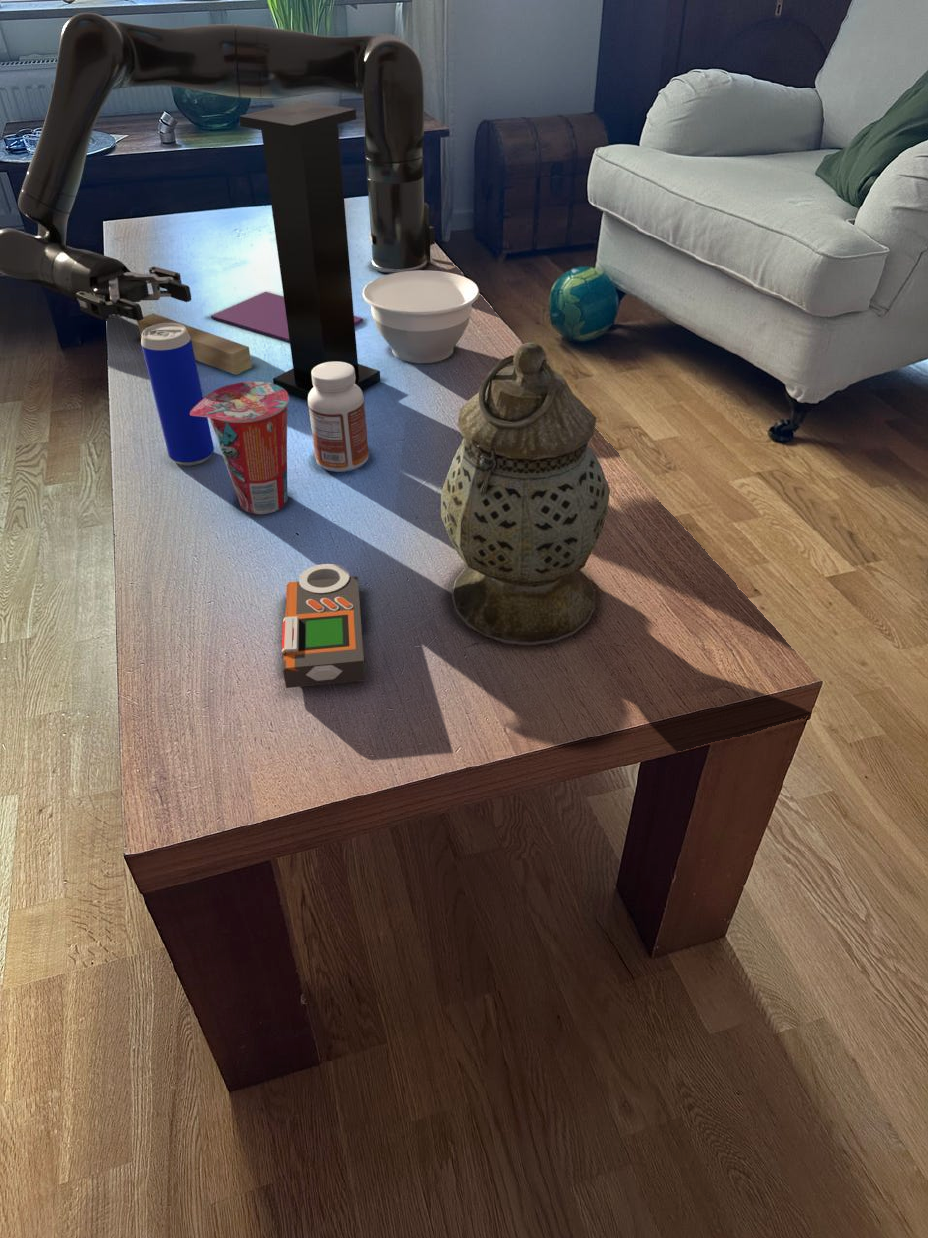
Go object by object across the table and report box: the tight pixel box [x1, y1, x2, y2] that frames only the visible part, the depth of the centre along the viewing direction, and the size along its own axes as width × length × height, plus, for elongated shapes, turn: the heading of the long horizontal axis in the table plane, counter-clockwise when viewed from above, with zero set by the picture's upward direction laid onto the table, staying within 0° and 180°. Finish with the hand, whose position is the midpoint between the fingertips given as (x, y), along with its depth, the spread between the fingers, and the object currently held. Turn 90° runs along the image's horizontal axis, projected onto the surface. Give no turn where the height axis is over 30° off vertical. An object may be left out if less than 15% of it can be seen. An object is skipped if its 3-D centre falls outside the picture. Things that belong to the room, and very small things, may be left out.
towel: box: [210, 291, 364, 343], centre depth 134 cm, size 12×20×1 cm, turn 56°
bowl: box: [362, 269, 480, 364], centre depth 123 cm, size 16×16×8 cm
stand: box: [238, 100, 381, 402], centre depth 107 cm, size 10×10×32 cm
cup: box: [190, 381, 290, 515], centre depth 92 cm, size 9×8×12 cm
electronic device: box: [281, 563, 367, 689], centre depth 78 cm, size 7×3×15 cm
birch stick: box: [136, 312, 253, 376], centre depth 124 cm, size 20×3×3 cm, turn 54°
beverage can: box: [140, 323, 215, 466], centre depth 98 cm, size 5×5×15 cm
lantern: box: [440, 341, 611, 646], centre depth 75 cm, size 14×14×25 cm
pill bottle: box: [307, 362, 370, 473], centre depth 99 cm, size 6×6×11 cm
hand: (165, 303), depth 123 cm, fingers open, 8 cm apart
